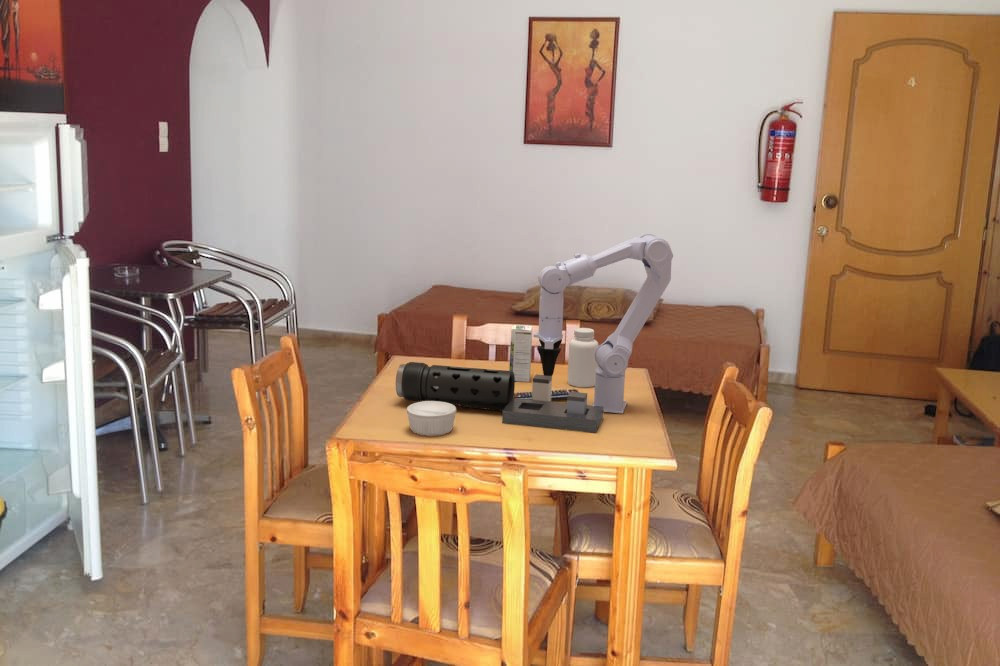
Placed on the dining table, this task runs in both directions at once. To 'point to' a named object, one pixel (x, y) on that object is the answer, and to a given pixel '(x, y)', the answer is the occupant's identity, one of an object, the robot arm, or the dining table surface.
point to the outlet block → (551, 415)
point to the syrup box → (521, 352)
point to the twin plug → (577, 403)
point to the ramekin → (431, 417)
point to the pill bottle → (582, 358)
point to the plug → (542, 388)
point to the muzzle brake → (456, 385)
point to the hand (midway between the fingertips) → (548, 371)
